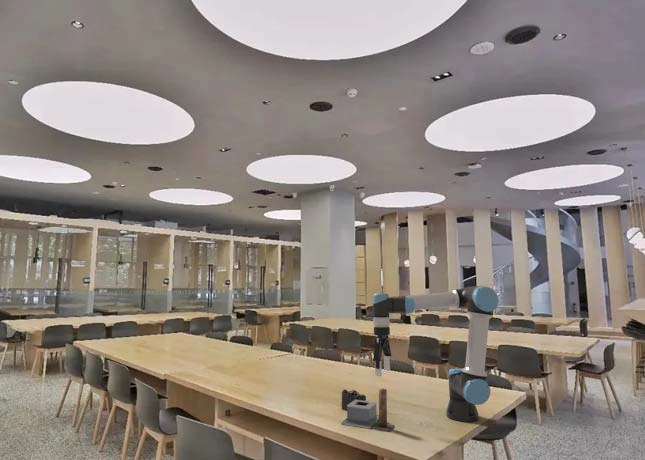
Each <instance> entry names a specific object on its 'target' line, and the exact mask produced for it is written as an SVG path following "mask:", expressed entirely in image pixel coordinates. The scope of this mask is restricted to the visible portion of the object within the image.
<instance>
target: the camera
mask: <svg viewBox="0 0 645 460" xmlns="http://www.w3.org/2000/svg"><path fill="white" fill-rule="evenodd" d="M354 400H363V401H367V396H366V395H365V394H364V393H361V394H360V392H358V391H356V390H355V389H352V390H349V391H348V390H347V389H343V390H342V392H341V410H343V411H346V412H347V405H348V404H350V403H351V402H352V401H354Z"/></svg>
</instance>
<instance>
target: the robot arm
mask: <svg viewBox="0 0 645 460" xmlns="http://www.w3.org/2000/svg"><path fill="white" fill-rule="evenodd" d="M498 305H499V297H498V294H497V292H496V291H495V290H494V289H492V287H489V286H485V285H473V286H466V287H463V288H458V289H452V291H447V292H445V291H444V292H435V293H424V294H423V293H422V294H414V295H413V294H412V295H401V296H399V295H398V296H390V295H389V293H385V292H384V293H379V292H378V293H374V294H373V295H372V311H373V318H372V321H373V326H374V327H373V334H374V336H377V337H375V338H374V351H373V356H372V357H373V358H372V361H374V371H375V377H382V376H383V375H382V373H383V372H382V360H381V359H382V355H384V356H383V371H389V372H390V371H391V361H390V360H391V358H390V357H391V356H392V351H391V345H390V339H389V338H390V337H389V335H390V334H391V332H390V330H391V329H390V327H389V326H390V324H391V323H390V321H391V320H390V314H413V313H414V312H415V311H418V310H420V311H421V310H430V309H441V308H443V309H445V308H455V309H467V310H466V311H467V314H468V315H469V324H468V325H469V326H468V335H467V346H466V356H465V364H464V365H465V366H464V368H450V369H449V370H448V376H447V377H448V390H449V391H448V392H449V399H448V404H447V406H446V417H447V418H448V419H451V420H453V421H458V422H466V423H467V422H469V423H470V422H477V421H479V416H480V415H479V411H478V409H477V406H481V405H483V404H485V403H486V402H488V400H489V398H490V396H491V387H490V386H489V383H488V374H487V372H486V371H485V370H486V369H485V368H486V359H487V347H488V346H487V345H488V338H489V337H488V335H489V324H490V319H491V318H493V317H494V311H495V310H496V309H497V308H498Z"/></svg>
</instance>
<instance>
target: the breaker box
mask: <svg viewBox="0 0 645 460" xmlns="http://www.w3.org/2000/svg"><path fill="white" fill-rule="evenodd" d="M346 414H347V415H346V418H345V419H344V420H342V421H341V425H342V426H343V425H344V426H350V427H356V426H357V427H358V428H363V429H372V427H373V426H374V425H375V424H376V423H377V422H379V414H377V402H376V401H370V400H366V401H363V400H354V401H352V402H351V403H350V404H348V405H347V411H346Z"/></svg>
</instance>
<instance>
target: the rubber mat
mask: <svg viewBox="0 0 645 460" xmlns="http://www.w3.org/2000/svg"><path fill="white" fill-rule="evenodd" d="M394 427H395V424H391V423H387V427H385V428H383V427H379V421H377V422H376V423H375V424H374V425H373V426H372V427H371V429H372V430H375V431H382V432H389V433H390V432H391V431H392V430H393V428H394Z"/></svg>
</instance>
